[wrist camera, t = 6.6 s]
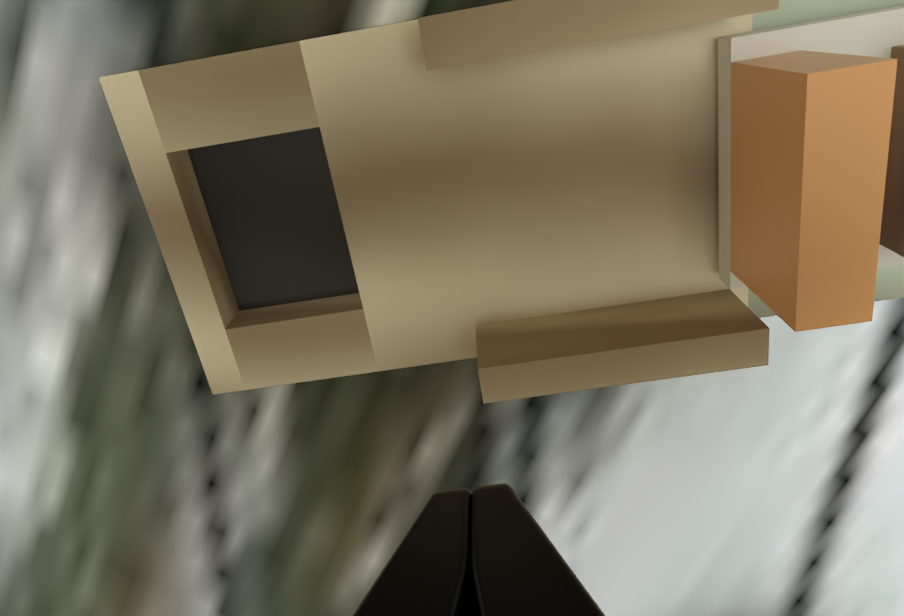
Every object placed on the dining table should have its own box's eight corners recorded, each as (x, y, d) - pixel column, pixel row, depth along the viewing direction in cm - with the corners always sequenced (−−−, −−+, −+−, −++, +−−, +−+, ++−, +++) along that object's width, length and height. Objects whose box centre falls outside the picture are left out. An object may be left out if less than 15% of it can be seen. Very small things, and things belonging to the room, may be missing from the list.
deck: (1027, 255, 19) (1163, 311, 15) (229, 369, 21) (180, 444, 17) (1096, -104, 15) (1295, -142, 12) (127, 72, 17) (37, 87, 14)
